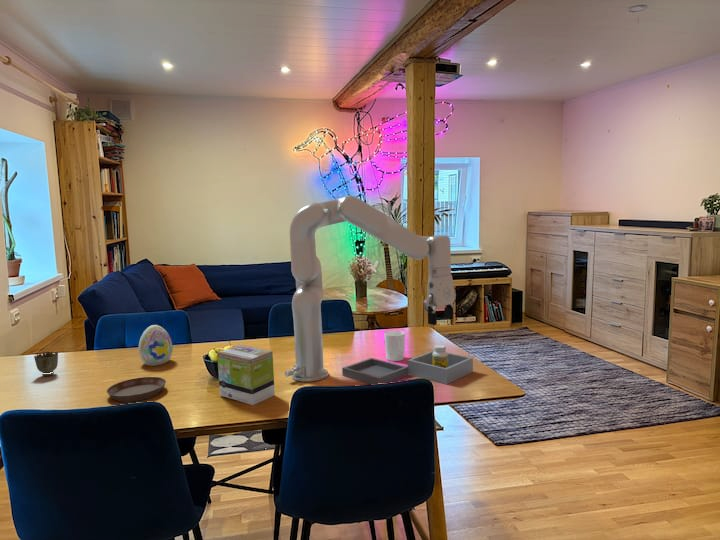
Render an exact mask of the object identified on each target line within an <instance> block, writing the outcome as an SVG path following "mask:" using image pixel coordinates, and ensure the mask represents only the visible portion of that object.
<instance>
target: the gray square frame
mask: <svg viewBox="0 0 720 540" xmlns="http://www.w3.org/2000/svg"><path fill="white" fill-rule="evenodd" d="M434 351H435V350H434V349H433V350H431V351H429V352H426V353H423V354H421V355H418V356H415V357H412V358H410V359H407V367H408V375H409V376H413V377H418V378H421V379H424V378H425V379H424V380H428V379H429V380H428V381H432V382H436V383H439V384H444V385H448V384H451V383H452V382H454V381H456V380H459V379H461V378H463V377H465V376H467V375H469V374H471V373H473V372H474V358H473V357H469V356H465V355H460V354H457V353H452V352H447V353H448V367H447V368H443V367H439V366H434V365H433V363H432V354H433V352H434Z"/></svg>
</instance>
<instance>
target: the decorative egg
mask: <svg viewBox="0 0 720 540" xmlns="http://www.w3.org/2000/svg"><path fill="white" fill-rule="evenodd" d="M138 341H139V343H138V355H139V357H140V360H141V361H142V362H143V364H145V366H149V367H154V366H161V365H164V364H167V363H168V362H169V361H170V360H171V357H172V356H173V349H174V348H173V342H172V339H171V336H170V335H169V333H168V331H167V330H166V329H165V328H163V326H160V325H158V324H152V325H150V326H148V327H147V328H146V329H145V330H143V333H142V334H141V336H140V339H139V340H138Z"/></svg>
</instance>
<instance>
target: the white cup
mask: <svg viewBox="0 0 720 540" xmlns="http://www.w3.org/2000/svg"><path fill="white" fill-rule="evenodd" d="M383 334H384V335H383V336H384V348H385V358H386V360H387V361H389V362H390V361H391V362H398V361H403V360H404V358H405V348H406V347H405V346H406V345H405V344H406V333H405V332H404V331H402V330H388V331H385V332H384V333H383Z"/></svg>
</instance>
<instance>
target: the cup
mask: <svg viewBox="0 0 720 540" xmlns="http://www.w3.org/2000/svg"><path fill="white" fill-rule="evenodd" d="M33 358H34V362H35V365H36V369H37V370H38V371H39V372H40V373H41V374H42V373H50V372H53V371H54V372H53V373H51V374H42V376H43V377H51V376H53V375H54V374H55V370H56V369H57V367H58V364H59V363H58V362H59V361H58V360H59V352H58V351H55V352H54V353H53V351H51V352H50V351H47V352H46V353H45V352H43V353H42V354H41V353H38V354H36V355H34V356H33Z"/></svg>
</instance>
